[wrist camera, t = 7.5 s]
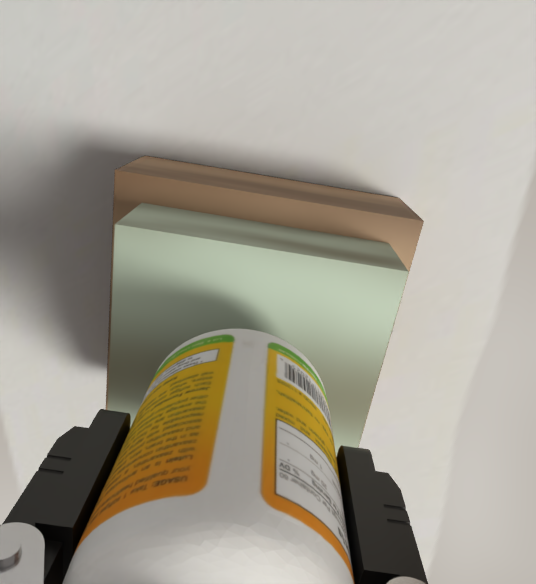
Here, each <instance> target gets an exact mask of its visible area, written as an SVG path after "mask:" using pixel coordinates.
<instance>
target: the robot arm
mask: <svg viewBox="0 0 536 584" xmlns="http://www.w3.org/2000/svg"><path fill="white" fill-rule="evenodd" d="M130 423H131V416H130V413H124V412H118V411H111V410H104V409H101V410H99V412H98V413H97V415H96V417H95V418H94V420H93V422H92V424H91V425H90V427H89V428H83V427H76V426H74V427H73V428H72V429H70V430H69V431H68V432H66V433H65V434H64V435H62V436H61V437H59V438H58V439H57V441H56V442H55V444H54V445H53V447H52V448H51V450H50V451H49V453H48V454H47V458H45V459H44V461H43V462H42V464H41V465H40V467H39V470H38V471H37V472H36V473H35V475H34V476H33V478H32V479H31V481H30V482H29V484H28V485H27V487H26V489H25V490H24V492H23V493H22V495H21V496H20V498H19V499H18V501H17V503H16V504H15V506H14V507H13V509H12V510H11V512H10V513H9V515H8V517H7V518H6V520H5V521H4V523H3V524H2V525H0V584H62V583H63V581H64V578H65V575H66V573H67V570H68V568H69V564H70V562H71V560H72V557H73V555H74V553H75V550H76V548H77V545H78V543H79V541H80V539H81V537H82V535H83V532H84V530H85V528H86V526H87V523H88V521H89V519H90V517H91V514H92V512H93V510H94V508H95V505H96V503H97V501H98V499H99V496H100V494H101V492H102V490H103V488H104V486H105V483H106V481H107V479H108V477H109V475H110V473H111V470H112V468H113V466H114V463H115V461H116V459H117V457H118V454H119V452H120V450H121V448H122V446H123V443H124V441H125V439H126V437H127V434H128V432H129V430H130ZM336 459H337V465H338V473H339V480H340V487H341V494H342V502H343V509H344V516H345V523H346V530H347V537H348V543H349V550H350V557H351V564H352V570H353V577H354V583H355V584H428V582H427V579H426V575H425V572H424V568H423V565H422V561H421V558H420V555H419V551H418V548H417V544H416V541H415V537H414V534H413V531H412V527H411V526H410V520H409V517H408V514H407V511H406V510H405V508H406V507H405V503H404V500H403V496H402V493H401V490H400V488H399V487H398V486H397V484H396V483H395V482H394V480H393V479H392V478H391V476H390V475H389V474H388V473H384V472H377V471H375V468H374V463H373V459H372V455H371V452H370V450H368V449H362V448H355V447H349V446H342V445H341V446H340V447H339V450H338V453H337V457H336Z"/></svg>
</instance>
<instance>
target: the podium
mask: <svg viewBox="0 0 536 584" xmlns="http://www.w3.org/2000/svg"><path fill="white" fill-rule="evenodd" d="M423 222H424V221H423V220H422V219H421V218H420V217H419V216H418V215H417V214H416V213H415V212H414V211H413V210H411V209H410V208H409V207H408V206H407V205H406V204H405V203H404V202H403V201H402V200H401V199H400V198H396V197H390V196H384V195H378V194H372V193H366V192H360V191H354V190H348V189H342V188H336V187H330V186H324V185H318V184H312V183H306V182H300V181H294V180H288V179H282V178H276V177H270V176H264V175H258V174H252V173H246V172H240V171H234V170H228V169H222V168H216V167H210V166H204V165H198V164H192V163H186V162H180V161H174V160H168V159H162V158H156V157H150V156H143V157H141V158H139V159H137V160H135V161H132V162H130V163H128V164H126V165H124V166H122V167H120V168H118V169H116V170H115V178H114V205H113V231H112V258H111V285H110V311H109V338H108V364H107V391H106V410H111V411H118V412H124V413H130V416H131V423H130V428H131V426H132V423H133V421H134V419H135V417H136V415H137V412H138V410H139V408H140V406H141V403H142V401H143V399H144V396H145V394H146V392H147V390H148V387H149V385H150V383H151V381H152V379H153V377H154V375H155V374H156V372H157V370H158V368H159V367H160V365H161V364H162V362H163V361H164V360H165V359H166V357H167V356H168V355H169V354H170V353H171V352H172V351H174V350H175V349H176V348H177V347H179V346H180V345H181V344H183V343H185V342H186V341H188V340H190V339H192V338H194V337H197V336H199V335H202V334H204V333H208V332H212V331H216V330H222V329H249V330H256V331H261V332H264V333H268V334H270V335H273V336H276V337H278V338H280V339H282V340H284V341H286V342H287V343H289V344H290V345H292V346H293V347H295V348H296V349H297V350H298V351H300V352H301V353H302V354H303V355H304V356H305V357H306V358H307V359H308V360H309V361H310V363H311V364H312V365H313V367H314V368H315V370H316V371H317V373H318V375H319V377H320V379H321V381H322V383H323V386H324V389H325V393H326V397H327V402H328V406H329V412H330V418H331V424H332V431H333V438H334V446H335V452H336V457H337V453H338V450H339V447H340V446H341V445H342V446H349V447H355V448H358V447H359V443H360V440H361V436H362V433H363V429H364V426H365V423H366V419H367V416H368V412H369V409H370V405H371V402H372V398H373V395H374V391H375V388H376V385H377V381H378V378H379V374H380V371H381V367H382V364H383V360H384V357H385V353H386V350H387V347H388V343H389V340H390V336H391V333H392V329H393V326H394V322H395V319H396V315H397V312H398V309H399V305H400V302H401V298H402V295H403V291H404V288H405V284H406V281H407V277H408V274H409V271H410V267H411V264H412V260H413V257H414V253H415V250H416V246H417V243H418V239H419V236H420V233H421V229H422V226H423Z"/></svg>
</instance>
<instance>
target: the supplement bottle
mask: <svg viewBox="0 0 536 584" xmlns="http://www.w3.org/2000/svg"><path fill="white" fill-rule="evenodd" d="M62 584H355V583H354V577H353V570H352V564H351V557H350V550H349V543H348V537H347V530H346V523H345V516H344V509H343V502H342V494H341V487H340V480H339V473H338V465H337V459H336V452H335V446H334V438H333V431H332V424H331V418H330V412H329V406H328V402H327V397H326V393H325V389H324V386H323V383H322V381H321V379H320V377H319V375H318V373H317V371H316V370H315V368H314V367H313V365H312V364H311V363H310V361H309V360H308V359H307V358H306V357H305V356H304V355H303V354H302V353H301V352H300V351H298V350H297V349H296V348H295V347H293V346H292V345H290V344H289V343H287V342H286V341H284V340H282V339H280V338H278V337H276V336H273V335H270V334H268V333H264V332H261V331H256V330H249V329H222V330H216V331H212V332H208V333H204V334H202V335H199V336H197V337H194V338H192V339H190V340H188V341H186V342H185V343H183V344H181V345H180V346H179V347H177V348H176V349H175V350H174V351H172V352H171V353H170V354H169V355H168V356H167V357H166V359H165V360H164V361H163V362H162V364H161V365H160V367H159V368H158V370H157V372H156V374H155V375H154V377H153V379H152V381H151V383H150V385H149V387H148V390H147V392H146V394H145V396H144V399H143V401H142V403H141V406H140V408H139V410H138V412H137V415H136V417H135V419H134V421H133V423H132V426H131V428H130V430H129V432H128V434H127V437H126V439H125V441H124V443H123V446H122V448H121V450H120V452H119V454H118V457H117V459H116V461H115V463H114V466H113V468H112V470H111V473H110V475H109V477H108V479H107V481H106V483H105V486H104V488H103V490H102V492H101V494H100V496H99V499H98V501H97V503H96V505H95V508H94V510H93V512H92V514H91V517H90V519H89V521H88V523H87V526H86V528H85V530H84V532H83V535H82V537H81V539H80V541H79V543H78V545H77V548H76V550H75V553H74V555H73V557H72V560H71V562H70V564H69V568H68V570H67V573H66V575H65V578H64V581H63V583H62Z"/></svg>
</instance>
